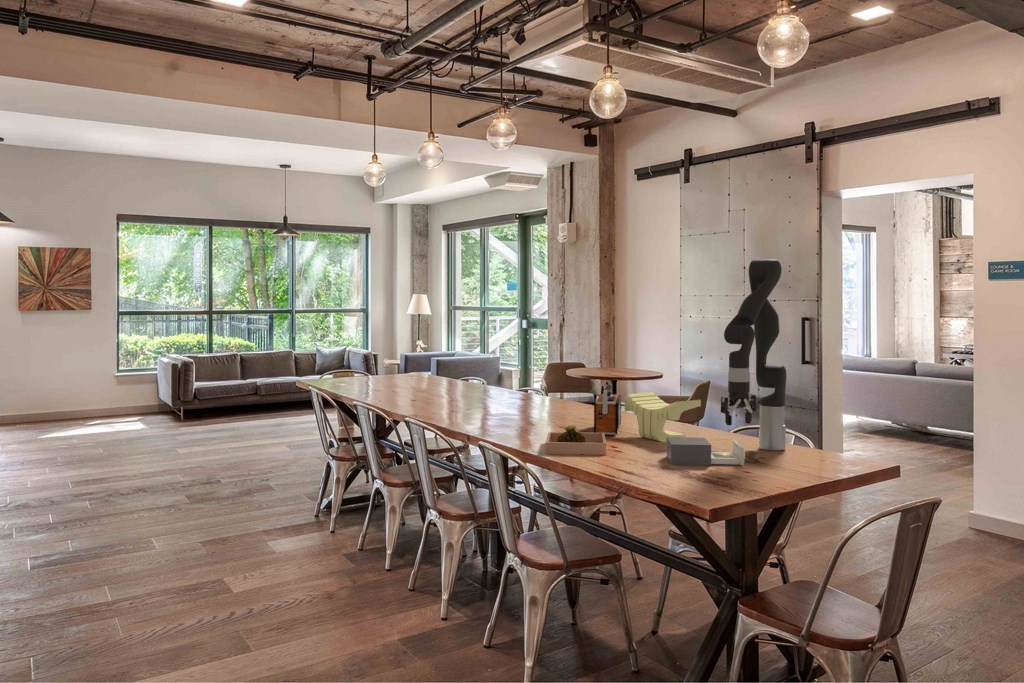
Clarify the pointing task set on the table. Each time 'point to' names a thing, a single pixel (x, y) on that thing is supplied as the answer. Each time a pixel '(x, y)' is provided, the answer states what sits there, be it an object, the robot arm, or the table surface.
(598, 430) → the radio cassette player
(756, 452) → the pedestal
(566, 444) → the planter frame
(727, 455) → the cream domed part
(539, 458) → the table surface
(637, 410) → the slatted curved stool
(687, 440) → the housing
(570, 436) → the cactus
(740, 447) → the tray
